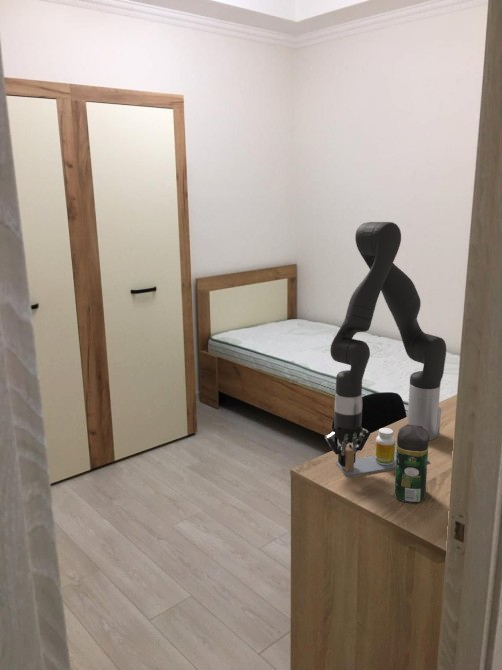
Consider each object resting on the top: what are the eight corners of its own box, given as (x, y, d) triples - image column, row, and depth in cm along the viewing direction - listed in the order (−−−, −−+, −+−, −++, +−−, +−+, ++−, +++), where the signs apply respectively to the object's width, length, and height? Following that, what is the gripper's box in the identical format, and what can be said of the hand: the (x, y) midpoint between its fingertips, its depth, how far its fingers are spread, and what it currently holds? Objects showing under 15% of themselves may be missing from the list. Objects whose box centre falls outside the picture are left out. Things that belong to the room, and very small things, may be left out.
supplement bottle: (394, 466, 164) (395, 435, 161) (374, 464, 165) (376, 433, 163) (394, 457, 169) (395, 427, 166) (375, 456, 170) (376, 425, 168)
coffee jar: (395, 483, 157) (399, 420, 152) (425, 487, 154) (430, 423, 149) (392, 501, 148) (396, 435, 143) (424, 506, 145) (429, 439, 140)
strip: (414, 450, 174) (415, 430, 173) (429, 462, 167) (431, 442, 165) (335, 463, 167) (336, 443, 166) (347, 477, 160) (348, 455, 158)
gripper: (364, 400, 164) (362, 455, 169) (319, 406, 161) (318, 462, 165) (377, 410, 157) (374, 467, 162) (330, 416, 154) (329, 475, 158)
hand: (346, 464), depth 164 cm, fingers closed on strip, 2 cm apart
